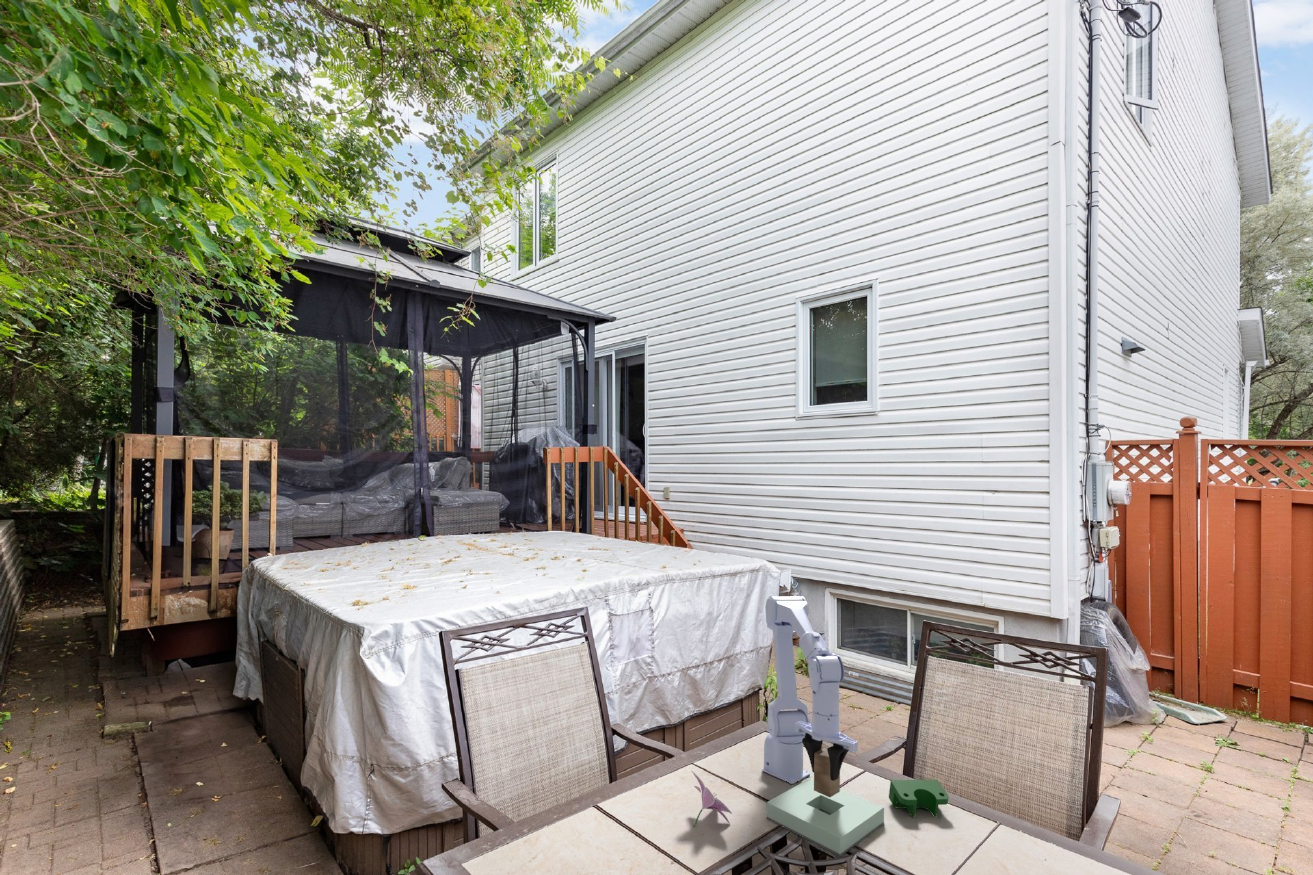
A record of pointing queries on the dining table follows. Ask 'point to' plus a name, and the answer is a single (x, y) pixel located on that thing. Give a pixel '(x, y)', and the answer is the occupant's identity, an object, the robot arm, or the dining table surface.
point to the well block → (826, 816)
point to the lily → (710, 800)
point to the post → (824, 775)
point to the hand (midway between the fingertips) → (825, 775)
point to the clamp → (917, 795)
